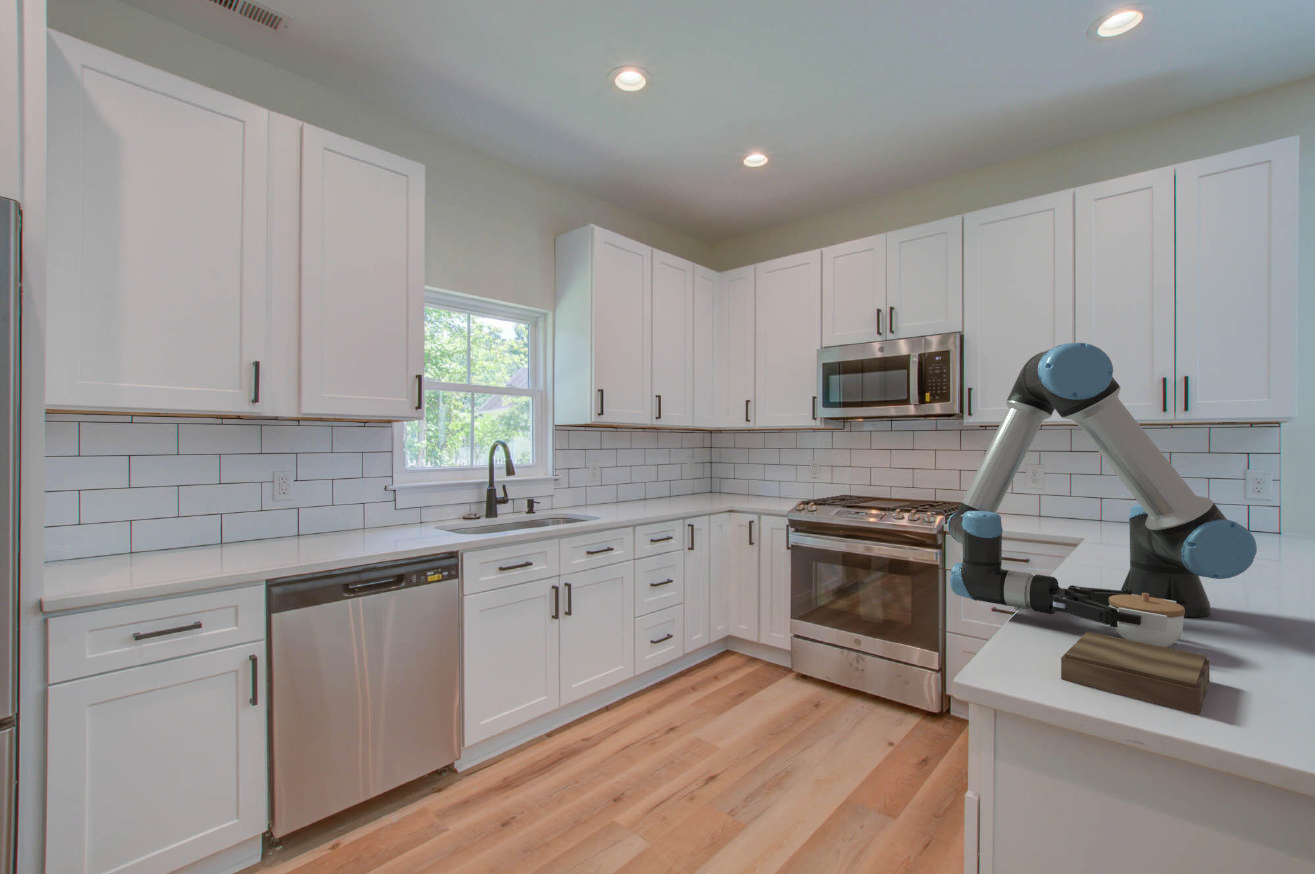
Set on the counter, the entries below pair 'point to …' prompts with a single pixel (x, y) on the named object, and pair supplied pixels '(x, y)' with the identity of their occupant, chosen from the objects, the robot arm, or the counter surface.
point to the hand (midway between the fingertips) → (1171, 615)
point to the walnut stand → (1138, 671)
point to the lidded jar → (1151, 606)
